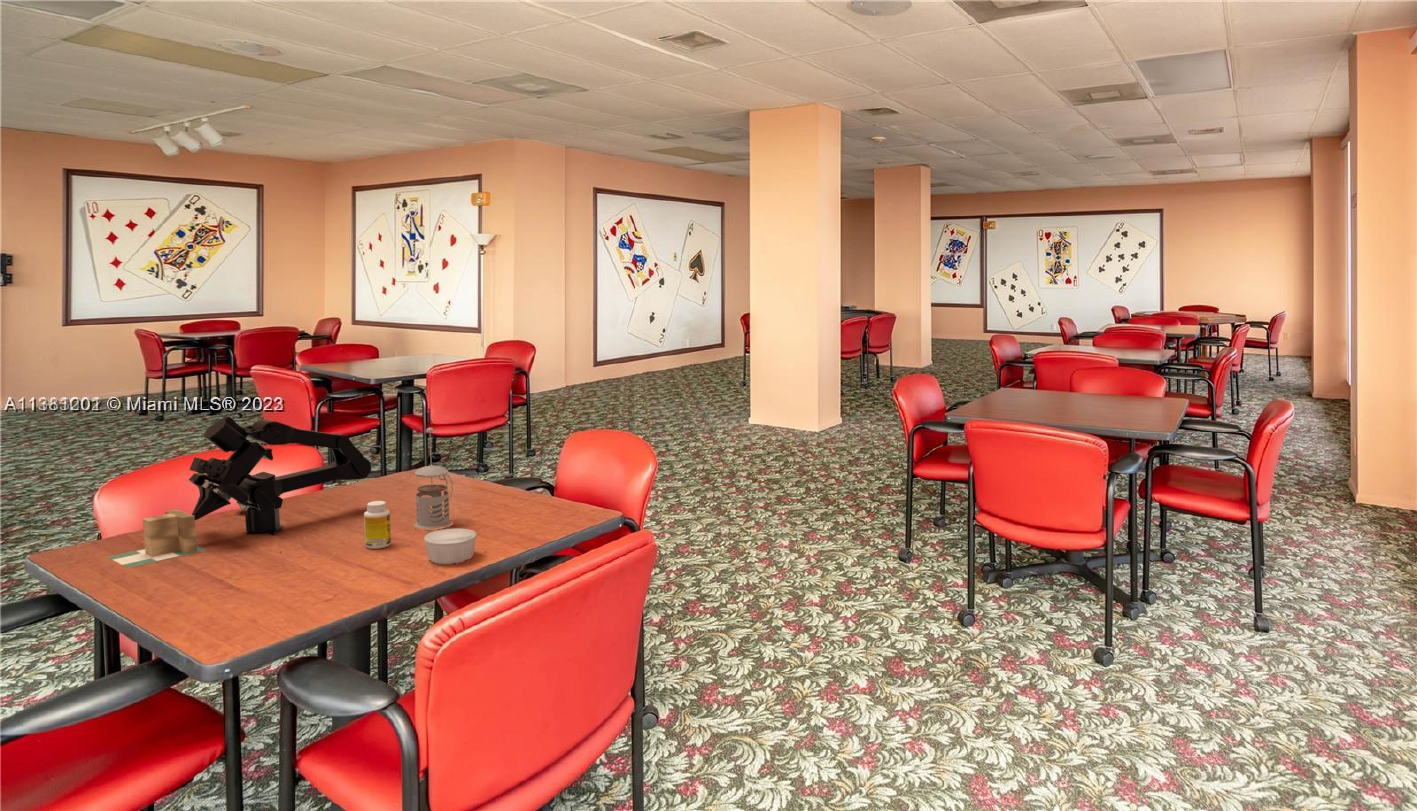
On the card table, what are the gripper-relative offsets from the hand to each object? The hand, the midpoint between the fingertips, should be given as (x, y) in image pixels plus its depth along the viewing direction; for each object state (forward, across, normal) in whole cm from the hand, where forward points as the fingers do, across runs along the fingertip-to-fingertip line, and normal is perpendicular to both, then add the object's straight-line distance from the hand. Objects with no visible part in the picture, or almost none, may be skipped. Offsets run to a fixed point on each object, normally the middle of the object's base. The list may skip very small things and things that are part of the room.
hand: (193, 519), depth 191 cm
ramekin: (-17, +52, +27) cm, 61 cm away
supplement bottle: (-14, +32, +23) cm, 42 cm away
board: (+10, 0, -1) cm, 10 cm away
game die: (-11, -21, +21) cm, 32 cm away
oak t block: (+8, 0, +1) cm, 8 cm away
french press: (-27, +27, +37) cm, 53 cm away
